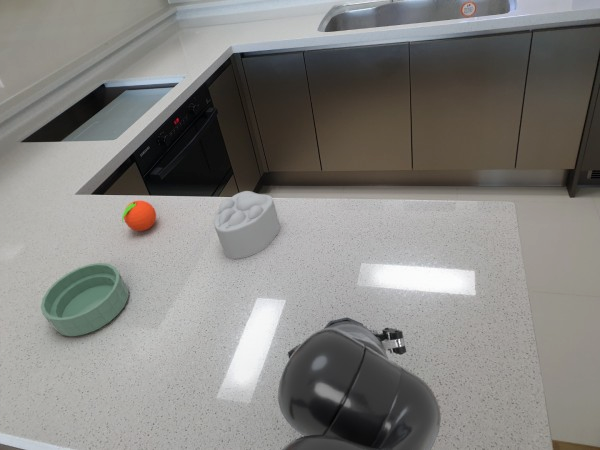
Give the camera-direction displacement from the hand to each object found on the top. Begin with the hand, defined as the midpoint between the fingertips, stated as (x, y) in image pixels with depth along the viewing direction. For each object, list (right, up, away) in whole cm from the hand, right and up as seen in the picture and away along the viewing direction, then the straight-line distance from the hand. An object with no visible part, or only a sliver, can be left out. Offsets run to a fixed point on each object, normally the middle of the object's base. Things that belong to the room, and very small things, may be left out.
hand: (344, 341), depth 63 cm
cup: (+1, -5, +2) cm, 5 cm away
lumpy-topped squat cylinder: (-17, +13, +32) cm, 39 cm away
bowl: (-45, 0, +24) cm, 51 cm away
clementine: (-42, +15, +42) cm, 61 cm away
